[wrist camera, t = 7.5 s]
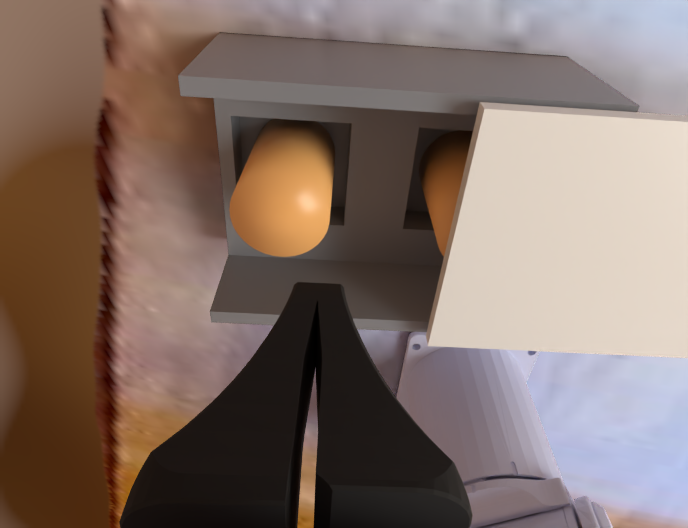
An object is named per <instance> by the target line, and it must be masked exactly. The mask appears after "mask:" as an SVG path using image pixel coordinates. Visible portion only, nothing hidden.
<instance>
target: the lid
mask: <svg viewBox="0 0 688 528" xmlns="http://www.w3.org/2000/svg"><path fill="white" fill-rule="evenodd" d="M426 339H427V344H428V346H437V347H459V348H481V349H502V350H524V351H546V352H567V353H589V354H611V355H632V356H654V357H676V358H688V116H686V115H671V114H656V113H640V112H625V111H610V110H595V109H579V108H564V107H549V106H533V105H518V104H503V103H488V102H480V104H479V108H478V112H477V116H476V121H475V125H474V129H473V134H472V138H471V142H470V147H469V151H468V155H467V160H466V164H465V168H464V173H463V177H462V181H461V186H460V190H459V194H458V199H457V203H456V207H455V212H454V216H453V220H452V225H451V229H450V233H449V238H448V242H447V246H446V251H445V255H444V259H443V264H442V268H441V272H440V277H439V281H438V285H437V290H436V294H435V298H434V302H433V307H432V311H431V315H430V320H429V324H428V328H427V333H426Z"/></svg>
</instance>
